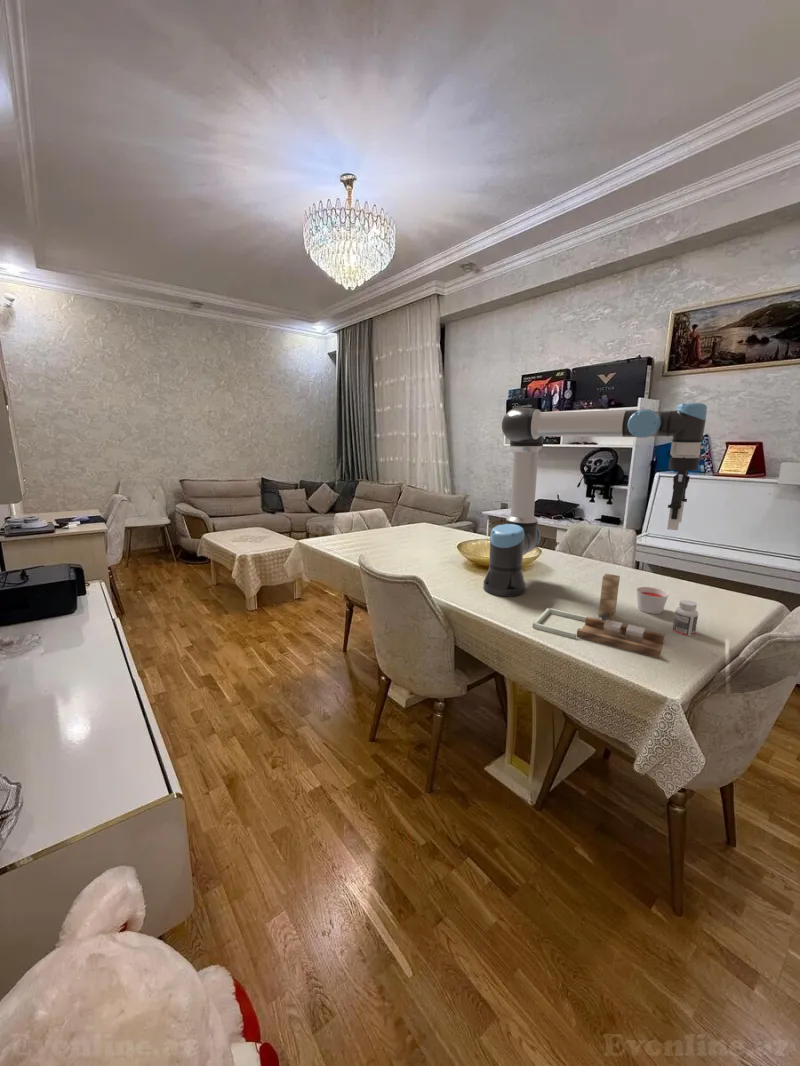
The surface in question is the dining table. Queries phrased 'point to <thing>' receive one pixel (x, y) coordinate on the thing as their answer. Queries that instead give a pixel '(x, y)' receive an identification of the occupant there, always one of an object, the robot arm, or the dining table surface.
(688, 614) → the pill bottle
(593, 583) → the dining table surface
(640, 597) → the white round cup
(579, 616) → the tray
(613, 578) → the tapered wooden board
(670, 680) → the dining table surface
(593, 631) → the slot board
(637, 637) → the pinkish grey cube
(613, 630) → the grey cube
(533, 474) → the robot arm
